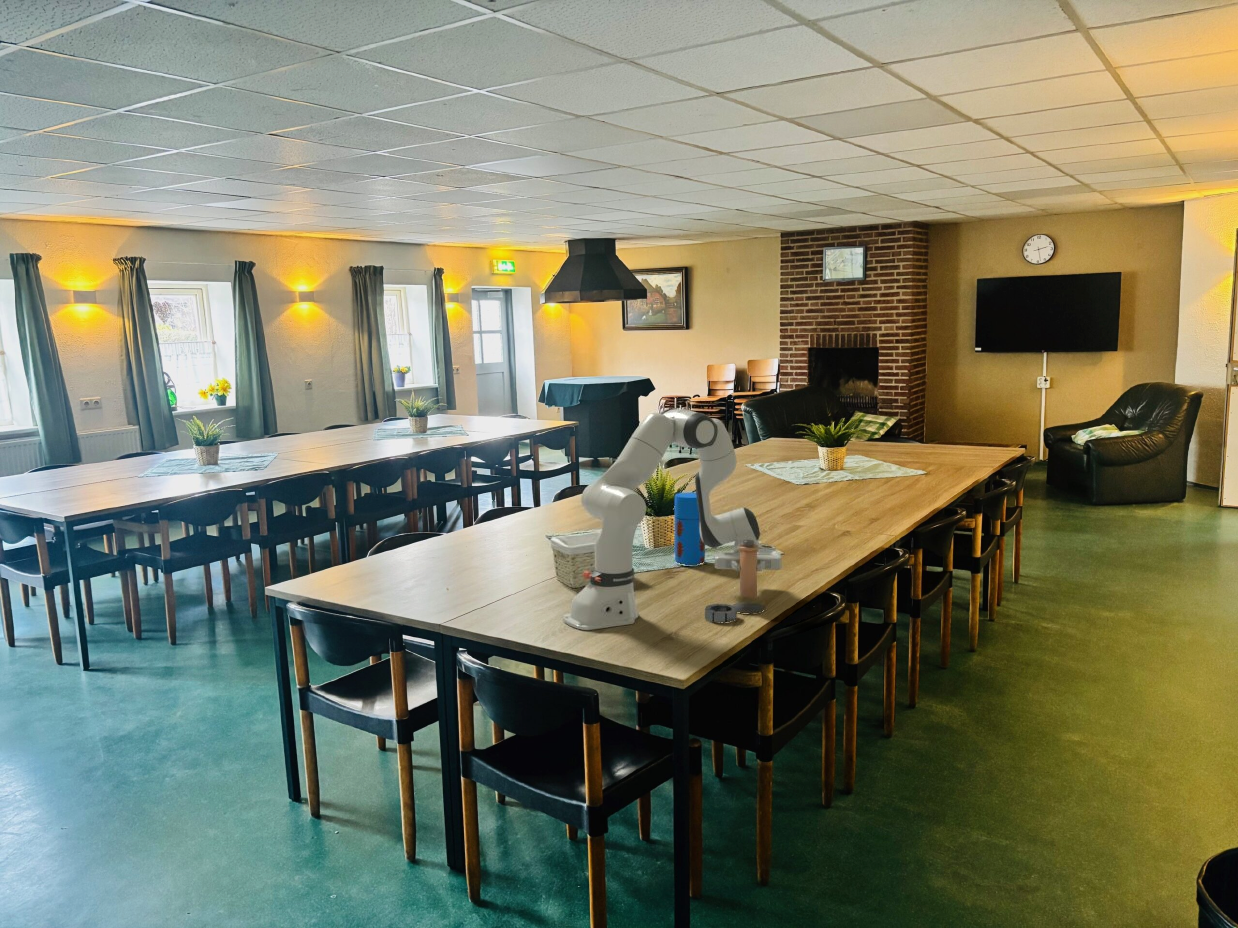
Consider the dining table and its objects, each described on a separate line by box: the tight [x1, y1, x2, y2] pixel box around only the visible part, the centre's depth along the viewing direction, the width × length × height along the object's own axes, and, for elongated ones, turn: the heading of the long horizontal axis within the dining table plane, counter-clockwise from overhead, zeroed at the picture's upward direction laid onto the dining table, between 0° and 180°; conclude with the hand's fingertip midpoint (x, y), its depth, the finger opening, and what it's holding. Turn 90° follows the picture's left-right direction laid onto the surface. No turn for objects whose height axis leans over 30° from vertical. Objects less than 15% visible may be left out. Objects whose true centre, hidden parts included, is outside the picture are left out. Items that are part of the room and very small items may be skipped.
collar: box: [704, 603, 738, 624], centre depth 255 cm, size 9×9×3 cm
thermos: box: [674, 492, 706, 565], centre depth 316 cm, size 11×11×25 cm
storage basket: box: [550, 530, 602, 589], centre depth 298 cm, size 24×16×15 cm
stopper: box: [738, 540, 759, 598], centre depth 262 cm, size 6×6×17 cm
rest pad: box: [731, 602, 766, 614], centre depth 264 cm, size 10×10×1 cm
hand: (748, 568), depth 261 cm, fingers closed on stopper, 5 cm apart
